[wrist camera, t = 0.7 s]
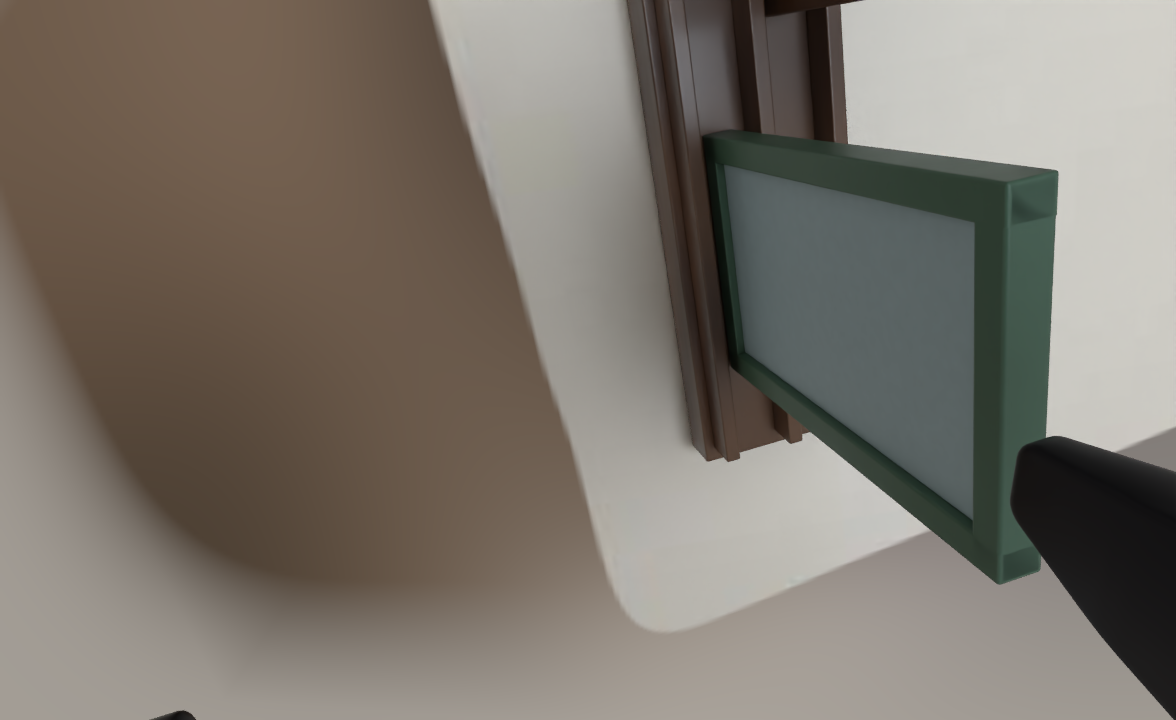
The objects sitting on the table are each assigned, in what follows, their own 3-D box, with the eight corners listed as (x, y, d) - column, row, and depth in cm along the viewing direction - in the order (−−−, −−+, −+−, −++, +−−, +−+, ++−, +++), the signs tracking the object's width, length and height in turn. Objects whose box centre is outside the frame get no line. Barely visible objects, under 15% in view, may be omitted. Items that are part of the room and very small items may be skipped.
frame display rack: (833, 404, 31) (1223, 681, 16) (692, 445, 30) (974, 777, 15) (778, -400, 21) (1555, -1364, 7) (571, -378, 21) (993, -1441, 6)
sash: (756, 360, 27) (1042, 571, 15) (730, 367, 27) (998, 587, 15) (731, 128, 24) (1061, 169, 12) (702, 135, 24) (1006, 182, 12)
